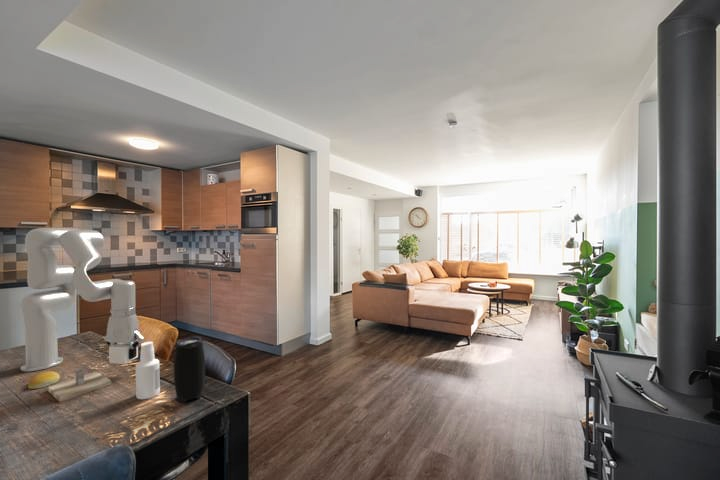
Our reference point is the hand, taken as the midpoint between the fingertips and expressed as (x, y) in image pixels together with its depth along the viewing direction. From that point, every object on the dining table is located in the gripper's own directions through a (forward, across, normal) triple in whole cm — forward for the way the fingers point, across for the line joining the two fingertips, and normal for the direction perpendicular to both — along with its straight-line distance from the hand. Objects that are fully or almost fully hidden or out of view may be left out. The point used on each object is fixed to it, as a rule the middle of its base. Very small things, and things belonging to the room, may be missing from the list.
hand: (123, 357), depth 122 cm
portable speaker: (+7, +36, -15) cm, 40 cm away
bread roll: (+8, -25, -7) cm, 28 cm away
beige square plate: (+7, -8, -10) cm, 15 cm away
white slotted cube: (+1, 0, 0) cm, 1 cm away
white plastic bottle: (+7, +21, -14) cm, 26 cm away
